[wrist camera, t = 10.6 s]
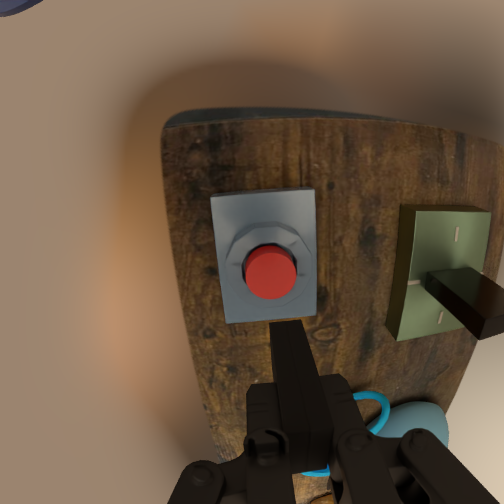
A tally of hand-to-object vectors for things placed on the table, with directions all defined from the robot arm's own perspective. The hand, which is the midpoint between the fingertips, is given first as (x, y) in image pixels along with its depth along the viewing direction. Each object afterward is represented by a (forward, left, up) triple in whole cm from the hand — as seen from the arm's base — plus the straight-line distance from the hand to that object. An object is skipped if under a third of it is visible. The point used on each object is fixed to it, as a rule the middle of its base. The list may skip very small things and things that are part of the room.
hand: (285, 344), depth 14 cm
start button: (0, 0, -10) cm, 10 cm away
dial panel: (+11, +14, -13) cm, 22 cm away
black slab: (+11, +14, -10) cm, 20 cm away
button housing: (0, 0, -13) cm, 13 cm away
